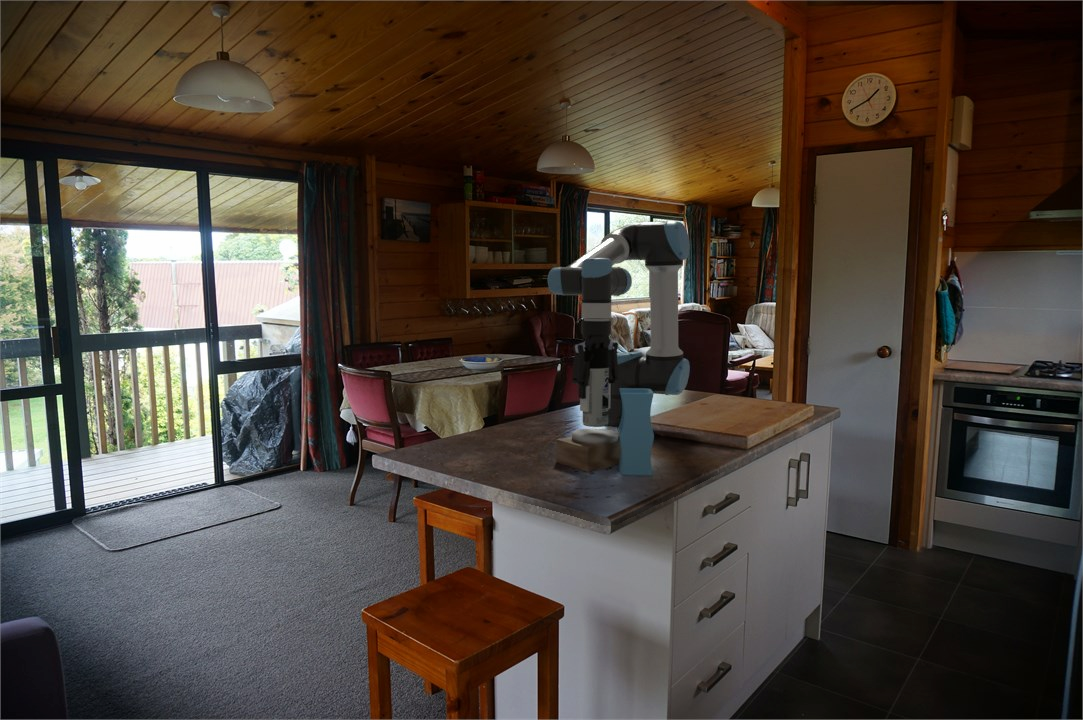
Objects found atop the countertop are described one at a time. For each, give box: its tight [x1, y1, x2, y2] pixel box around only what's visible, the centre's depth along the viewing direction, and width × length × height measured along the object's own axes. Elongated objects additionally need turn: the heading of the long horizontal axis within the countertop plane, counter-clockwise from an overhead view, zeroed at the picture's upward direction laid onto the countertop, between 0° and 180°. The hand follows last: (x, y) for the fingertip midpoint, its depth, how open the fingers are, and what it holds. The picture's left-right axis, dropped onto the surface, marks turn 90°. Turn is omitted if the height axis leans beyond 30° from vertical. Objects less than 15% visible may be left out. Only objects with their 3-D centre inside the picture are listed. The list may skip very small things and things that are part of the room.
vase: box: [617, 388, 655, 476], centre depth 173 cm, size 8×8×20 cm
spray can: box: [582, 348, 609, 428], centre depth 180 cm, size 7×7×20 cm
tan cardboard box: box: [555, 428, 621, 473], centre depth 182 cm, size 16×12×8 cm
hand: (595, 409), depth 180 cm, fingers closed on spray can, 7 cm apart
